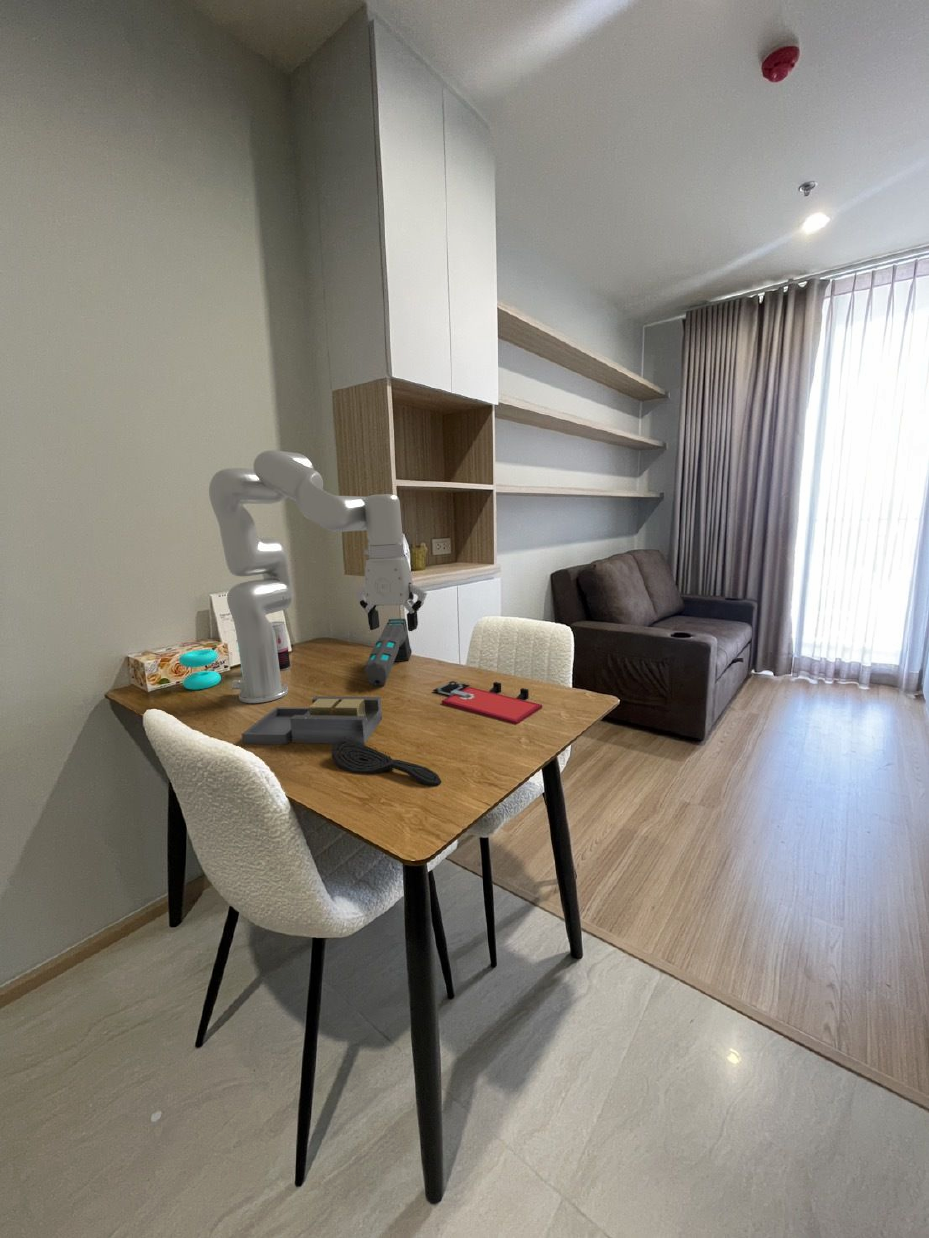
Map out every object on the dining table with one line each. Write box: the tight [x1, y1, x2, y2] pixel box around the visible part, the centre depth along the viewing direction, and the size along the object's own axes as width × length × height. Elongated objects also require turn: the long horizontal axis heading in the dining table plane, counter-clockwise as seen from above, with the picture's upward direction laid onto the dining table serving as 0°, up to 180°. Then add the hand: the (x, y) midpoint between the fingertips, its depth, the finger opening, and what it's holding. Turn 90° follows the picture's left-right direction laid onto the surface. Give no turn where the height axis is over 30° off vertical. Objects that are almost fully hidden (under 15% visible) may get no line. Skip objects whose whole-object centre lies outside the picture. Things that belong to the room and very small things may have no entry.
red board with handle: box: [432, 680, 543, 725], centre depth 125 cm, size 30×3×15 cm
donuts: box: [178, 649, 222, 691], centre depth 146 cm, size 10×10×10 cm
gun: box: [364, 618, 413, 687], centre depth 152 cm, size 7×29×15 cm, turn 173°
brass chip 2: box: [335, 699, 366, 716], centre depth 110 cm, size 5×5×4 cm
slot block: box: [290, 695, 383, 745], centre depth 111 cm, size 16×13×6 cm
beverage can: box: [269, 621, 291, 672], centre depth 158 cm, size 6×6×15 cm
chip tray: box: [241, 706, 309, 745], centre depth 113 cm, size 10×15×2 cm, turn 173°
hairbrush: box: [331, 736, 442, 787], centre depth 93 cm, size 8×4×25 cm
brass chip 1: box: [308, 699, 339, 716], centre depth 111 cm, size 5×5×4 cm
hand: (393, 629), depth 110 cm, fingers open, 9 cm apart
